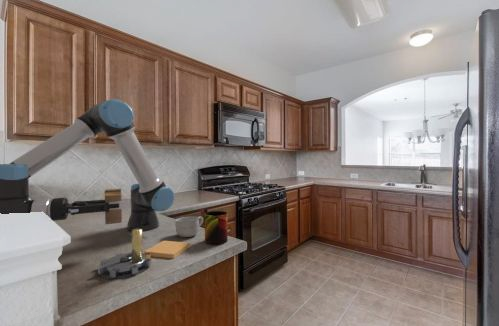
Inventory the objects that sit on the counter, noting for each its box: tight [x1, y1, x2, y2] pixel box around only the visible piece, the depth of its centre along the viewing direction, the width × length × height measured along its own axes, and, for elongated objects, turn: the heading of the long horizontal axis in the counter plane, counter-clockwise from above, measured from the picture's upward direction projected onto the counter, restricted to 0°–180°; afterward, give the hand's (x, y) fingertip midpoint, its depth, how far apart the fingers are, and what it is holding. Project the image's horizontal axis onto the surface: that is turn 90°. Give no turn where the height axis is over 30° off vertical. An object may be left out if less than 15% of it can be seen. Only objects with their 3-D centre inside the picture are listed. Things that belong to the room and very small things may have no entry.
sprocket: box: [97, 228, 152, 277], centre depth 75 cm, size 15×15×12 cm
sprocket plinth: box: [99, 265, 151, 280], centre depth 75 cm, size 14×14×1 cm
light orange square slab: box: [143, 240, 191, 259], centre depth 90 cm, size 12×12×2 cm
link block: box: [104, 188, 123, 225], centre depth 87 cm, size 5×5×12 cm
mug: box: [204, 210, 229, 246], centre depth 103 cm, size 10×14×12 cm
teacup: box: [174, 215, 204, 238], centre depth 110 cm, size 14×11×8 cm
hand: (129, 203), depth 89 cm, fingers closed on link block, 5 cm apart
